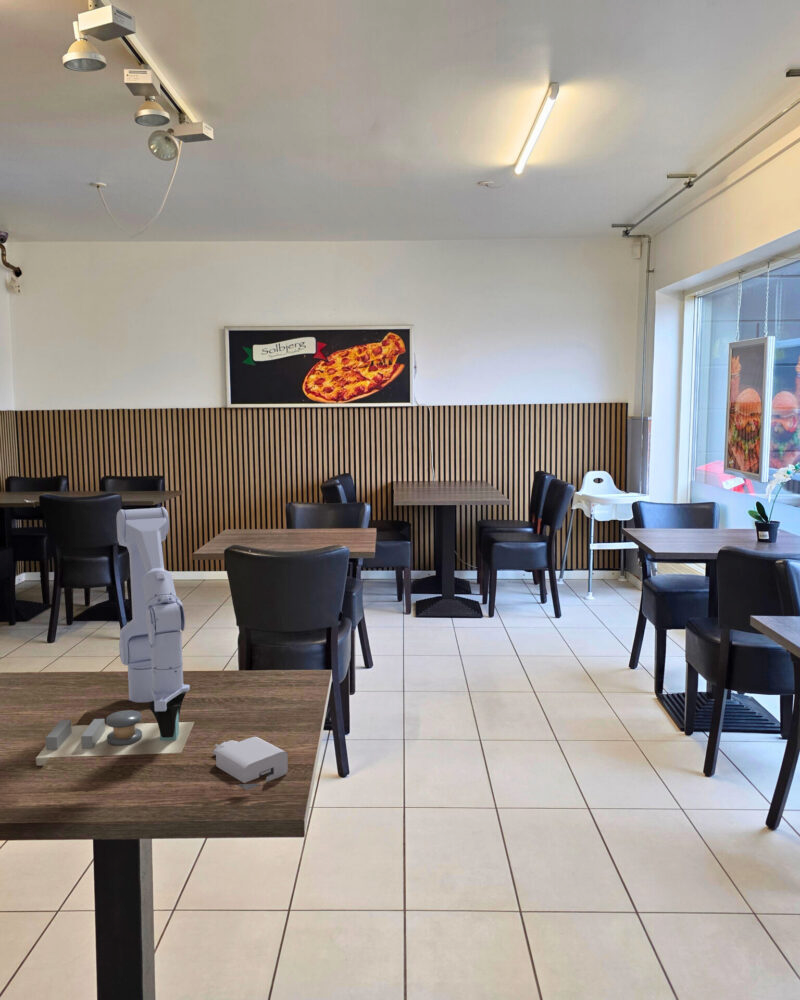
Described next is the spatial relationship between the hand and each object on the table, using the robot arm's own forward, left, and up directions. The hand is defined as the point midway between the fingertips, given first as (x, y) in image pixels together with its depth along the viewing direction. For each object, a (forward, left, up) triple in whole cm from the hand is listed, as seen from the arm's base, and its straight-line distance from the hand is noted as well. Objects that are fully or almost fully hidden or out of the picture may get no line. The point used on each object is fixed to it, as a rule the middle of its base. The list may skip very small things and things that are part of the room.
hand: (169, 732), depth 151 cm
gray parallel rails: (+17, 0, -1) cm, 18 cm away
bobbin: (+9, 0, -1) cm, 9 cm away
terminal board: (+10, 0, -2) cm, 10 cm away
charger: (-15, +11, -3) cm, 19 cm away
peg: (0, 0, -1) cm, 1 cm away
